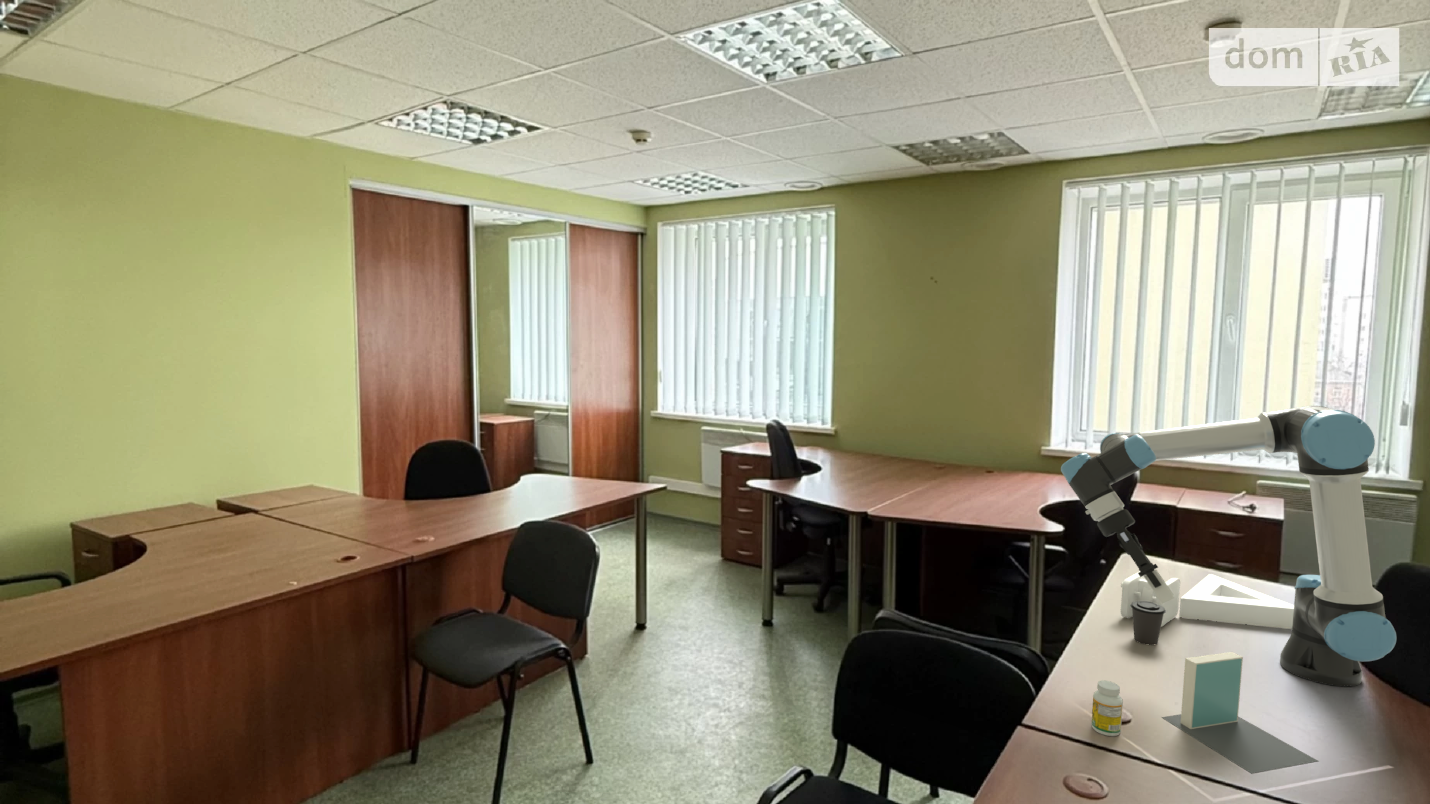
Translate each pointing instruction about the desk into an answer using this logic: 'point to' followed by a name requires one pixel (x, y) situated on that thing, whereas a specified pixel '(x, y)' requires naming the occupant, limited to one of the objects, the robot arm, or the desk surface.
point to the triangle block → (1234, 604)
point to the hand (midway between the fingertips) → (1168, 599)
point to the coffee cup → (1147, 621)
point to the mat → (1246, 745)
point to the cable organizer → (1148, 596)
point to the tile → (1211, 690)
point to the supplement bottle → (1107, 709)
